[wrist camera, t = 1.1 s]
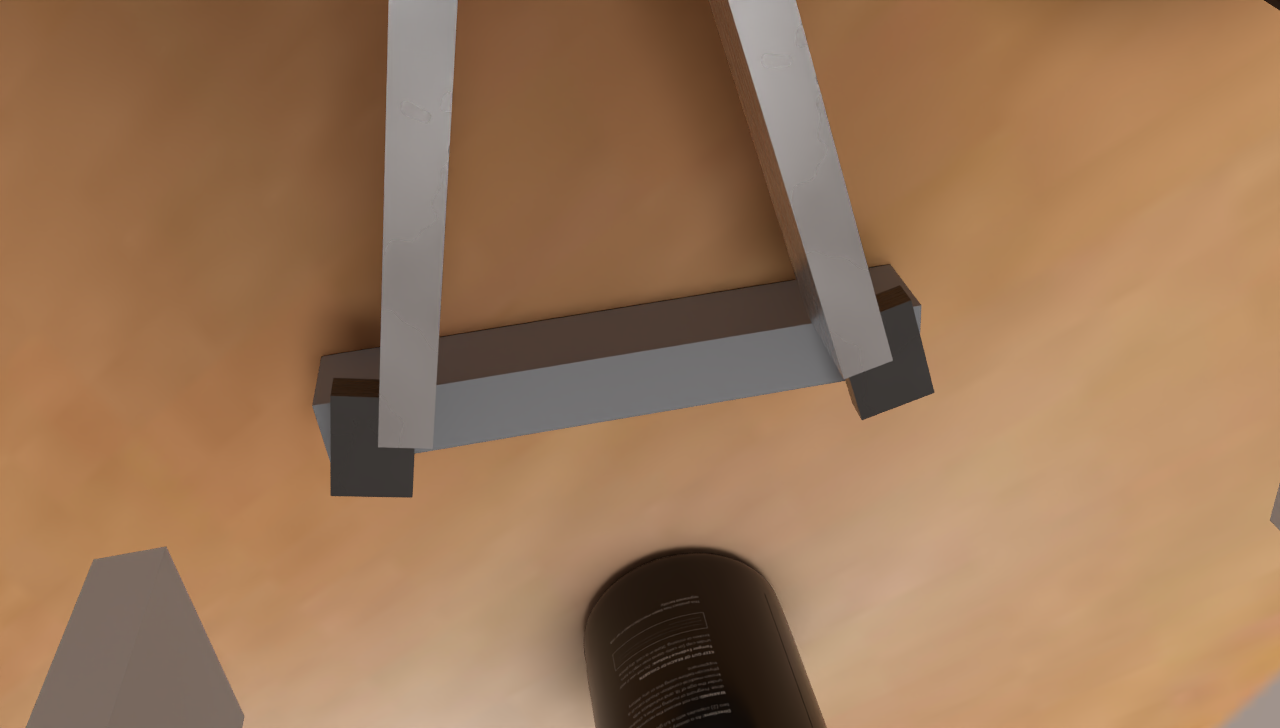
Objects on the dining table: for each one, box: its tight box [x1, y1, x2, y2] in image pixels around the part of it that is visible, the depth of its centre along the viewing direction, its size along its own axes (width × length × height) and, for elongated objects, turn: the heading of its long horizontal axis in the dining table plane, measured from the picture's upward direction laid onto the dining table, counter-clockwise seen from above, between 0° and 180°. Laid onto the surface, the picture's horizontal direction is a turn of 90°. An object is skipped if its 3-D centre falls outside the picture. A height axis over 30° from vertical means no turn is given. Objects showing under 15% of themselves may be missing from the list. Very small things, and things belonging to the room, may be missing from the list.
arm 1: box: [330, 0, 458, 497], centre depth 22 cm, size 19×2×3 cm, turn 172°
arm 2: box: [709, 0, 934, 420], centre depth 23 cm, size 19×2×3 cm, turn 20°
